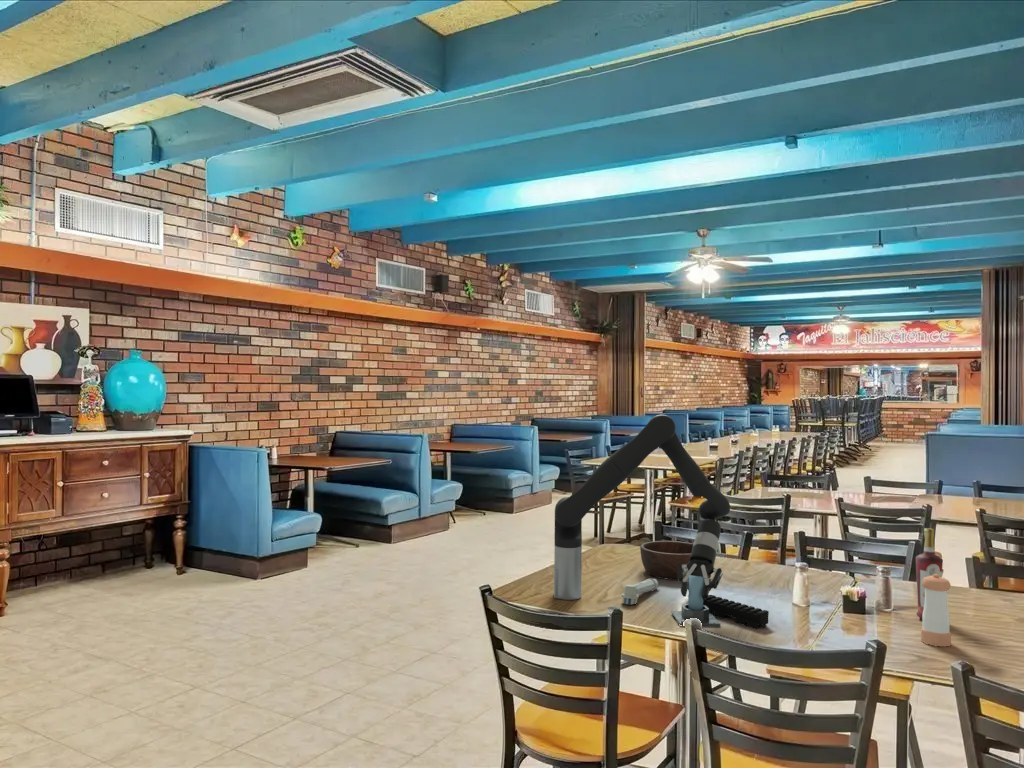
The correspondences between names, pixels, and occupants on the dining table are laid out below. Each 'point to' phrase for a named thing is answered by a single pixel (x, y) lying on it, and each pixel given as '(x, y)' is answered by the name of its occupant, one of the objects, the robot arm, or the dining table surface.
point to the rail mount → (736, 611)
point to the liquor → (926, 567)
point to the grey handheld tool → (638, 590)
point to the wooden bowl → (665, 557)
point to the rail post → (695, 592)
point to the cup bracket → (696, 616)
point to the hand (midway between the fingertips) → (693, 596)
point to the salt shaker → (936, 612)
